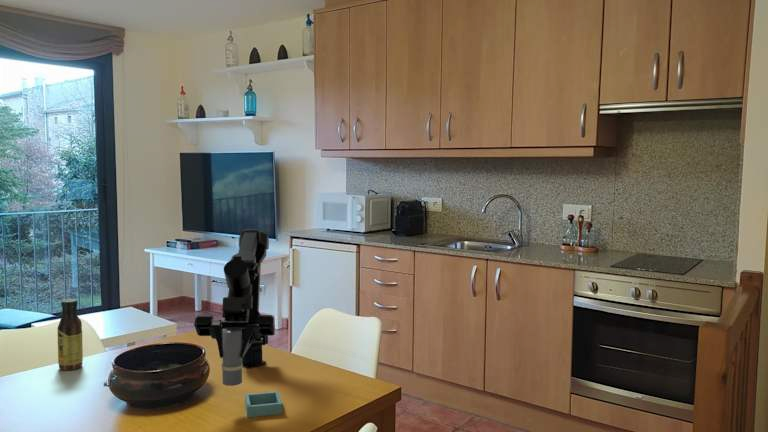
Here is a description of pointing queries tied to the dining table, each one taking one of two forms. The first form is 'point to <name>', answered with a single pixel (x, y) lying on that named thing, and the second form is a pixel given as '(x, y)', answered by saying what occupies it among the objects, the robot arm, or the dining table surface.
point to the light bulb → (232, 356)
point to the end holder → (263, 404)
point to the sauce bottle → (70, 337)
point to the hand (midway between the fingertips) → (231, 357)
